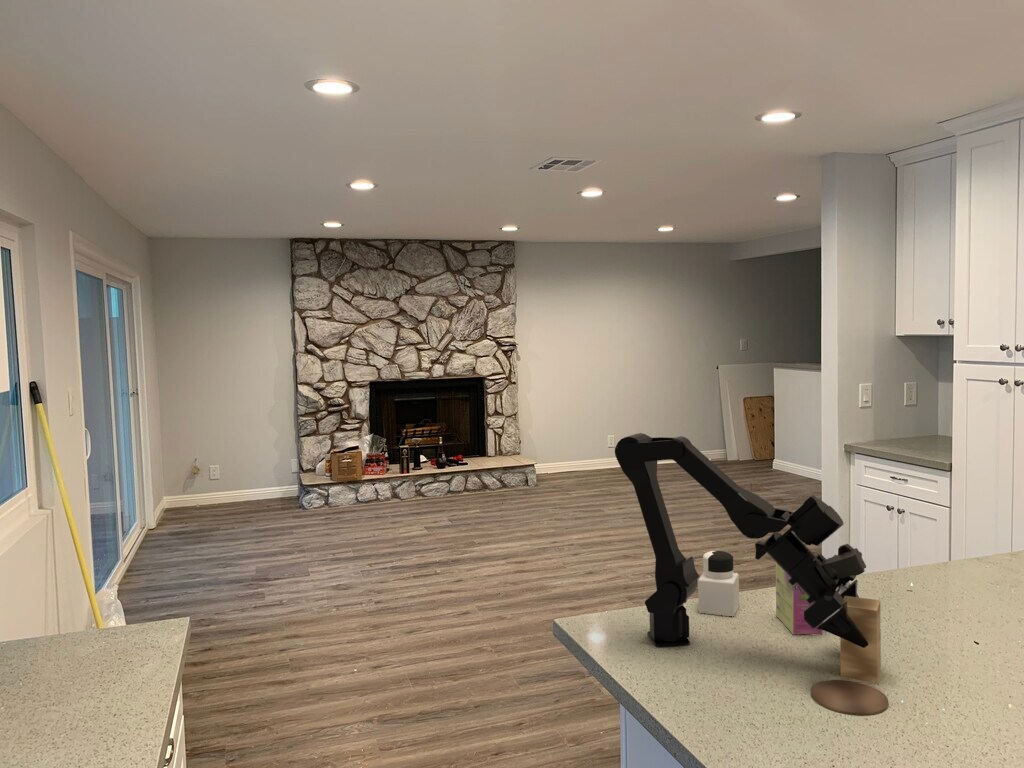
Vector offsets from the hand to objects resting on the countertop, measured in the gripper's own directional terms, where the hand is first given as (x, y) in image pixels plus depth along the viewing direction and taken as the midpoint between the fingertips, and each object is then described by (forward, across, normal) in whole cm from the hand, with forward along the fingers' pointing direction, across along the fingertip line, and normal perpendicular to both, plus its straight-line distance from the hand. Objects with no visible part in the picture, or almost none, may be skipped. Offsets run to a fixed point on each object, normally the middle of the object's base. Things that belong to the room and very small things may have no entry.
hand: (869, 636), depth 127 cm
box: (-6, +18, +15) cm, 24 cm away
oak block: (+4, 0, +6) cm, 7 cm away
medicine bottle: (-17, +20, +27) cm, 37 cm away
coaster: (+3, -10, +6) cm, 12 cm away
